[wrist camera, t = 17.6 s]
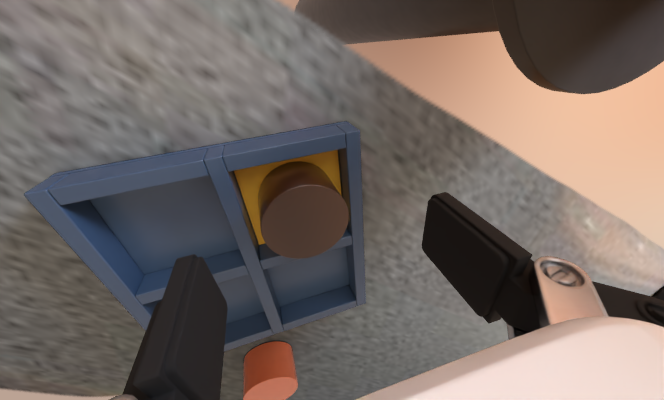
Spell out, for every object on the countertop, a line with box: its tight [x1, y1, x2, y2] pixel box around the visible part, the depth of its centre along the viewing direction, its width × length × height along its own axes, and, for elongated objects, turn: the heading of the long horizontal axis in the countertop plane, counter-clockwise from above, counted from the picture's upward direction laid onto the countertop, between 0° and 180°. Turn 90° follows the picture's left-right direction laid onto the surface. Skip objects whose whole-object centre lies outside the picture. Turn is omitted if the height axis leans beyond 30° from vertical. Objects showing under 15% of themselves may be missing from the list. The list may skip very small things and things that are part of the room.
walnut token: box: [258, 161, 349, 259], centre depth 13 cm, size 4×4×3 cm
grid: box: [24, 121, 366, 352], centre depth 15 cm, size 14×14×2 cm
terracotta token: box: [243, 341, 298, 400], centre depth 22 cm, size 4×4×3 cm
